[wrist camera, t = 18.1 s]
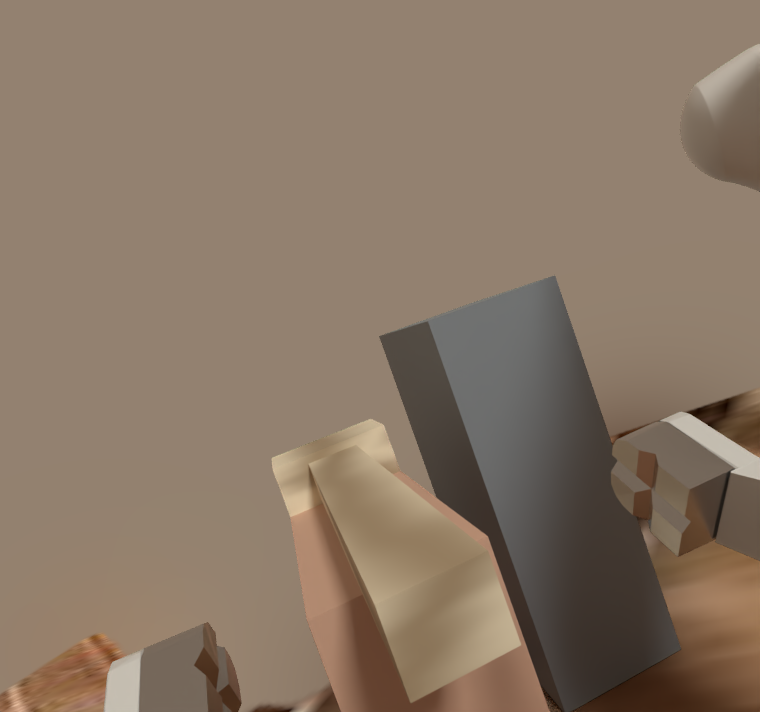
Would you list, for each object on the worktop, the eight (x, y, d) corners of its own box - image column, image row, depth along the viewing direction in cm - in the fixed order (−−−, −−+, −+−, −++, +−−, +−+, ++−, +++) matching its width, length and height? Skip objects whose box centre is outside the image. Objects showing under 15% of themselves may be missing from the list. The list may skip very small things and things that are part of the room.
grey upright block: (563, 570, 48) (471, 303, 47) (681, 649, 35) (554, 275, 33) (477, 613, 46) (379, 336, 45) (565, 714, 33) (427, 321, 32)
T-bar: (385, 460, 36) (370, 418, 36) (589, 609, 13) (551, 499, 13) (287, 500, 34) (271, 457, 34) (330, 745, 12) (284, 623, 12)
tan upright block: (456, 675, 40) (376, 452, 39) (641, 972, 20) (487, 536, 19) (371, 719, 38) (286, 489, 37) (480, 1087, 19) (306, 620, 18)
